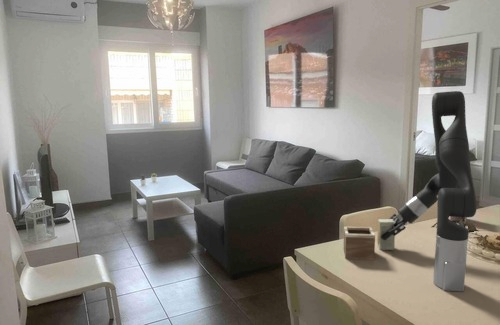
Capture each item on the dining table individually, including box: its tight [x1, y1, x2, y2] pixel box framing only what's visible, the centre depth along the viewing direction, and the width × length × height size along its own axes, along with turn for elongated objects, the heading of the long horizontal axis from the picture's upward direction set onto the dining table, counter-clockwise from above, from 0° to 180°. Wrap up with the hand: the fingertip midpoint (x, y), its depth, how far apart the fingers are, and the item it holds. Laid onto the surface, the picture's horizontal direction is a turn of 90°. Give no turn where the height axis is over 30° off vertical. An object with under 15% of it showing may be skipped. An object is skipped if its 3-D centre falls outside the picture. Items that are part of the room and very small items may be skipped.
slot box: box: [343, 225, 376, 261], centre depth 149 cm, size 10×11×10 cm
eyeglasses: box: [431, 219, 479, 233], centre depth 174 cm, size 15×15×5 cm
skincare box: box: [376, 218, 396, 251], centre depth 155 cm, size 6×4×12 cm
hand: (381, 236), depth 155 cm, fingers open, 5 cm apart
